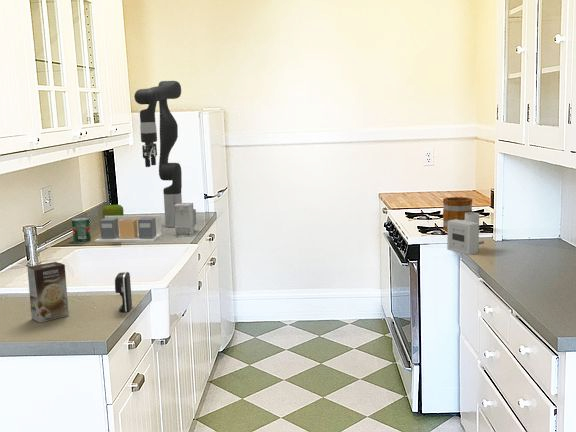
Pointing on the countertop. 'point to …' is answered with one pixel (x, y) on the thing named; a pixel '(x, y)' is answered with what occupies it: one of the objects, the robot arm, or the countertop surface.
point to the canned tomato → (81, 230)
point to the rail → (125, 238)
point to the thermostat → (464, 234)
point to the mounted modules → (112, 230)
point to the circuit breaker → (184, 219)
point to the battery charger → (124, 290)
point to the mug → (455, 209)
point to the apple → (112, 210)
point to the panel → (158, 228)
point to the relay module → (128, 228)
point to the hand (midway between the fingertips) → (150, 166)
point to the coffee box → (48, 291)
